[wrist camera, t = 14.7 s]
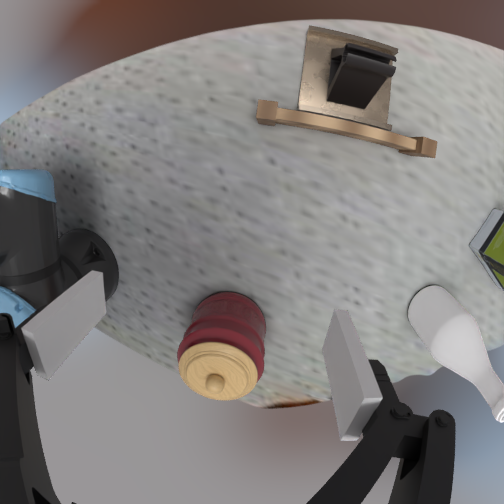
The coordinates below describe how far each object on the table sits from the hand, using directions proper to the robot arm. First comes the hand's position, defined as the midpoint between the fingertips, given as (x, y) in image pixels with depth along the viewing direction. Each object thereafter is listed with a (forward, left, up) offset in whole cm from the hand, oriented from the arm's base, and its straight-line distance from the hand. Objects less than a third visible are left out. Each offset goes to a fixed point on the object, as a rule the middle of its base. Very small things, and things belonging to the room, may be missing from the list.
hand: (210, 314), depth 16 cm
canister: (-1, -21, -32) cm, 38 cm away
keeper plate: (+12, +23, -32) cm, 41 cm away
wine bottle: (+36, -13, -32) cm, 50 cm away
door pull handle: (+12, +14, -32) cm, 37 cm away
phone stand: (+12, +22, -31) cm, 40 cm away
